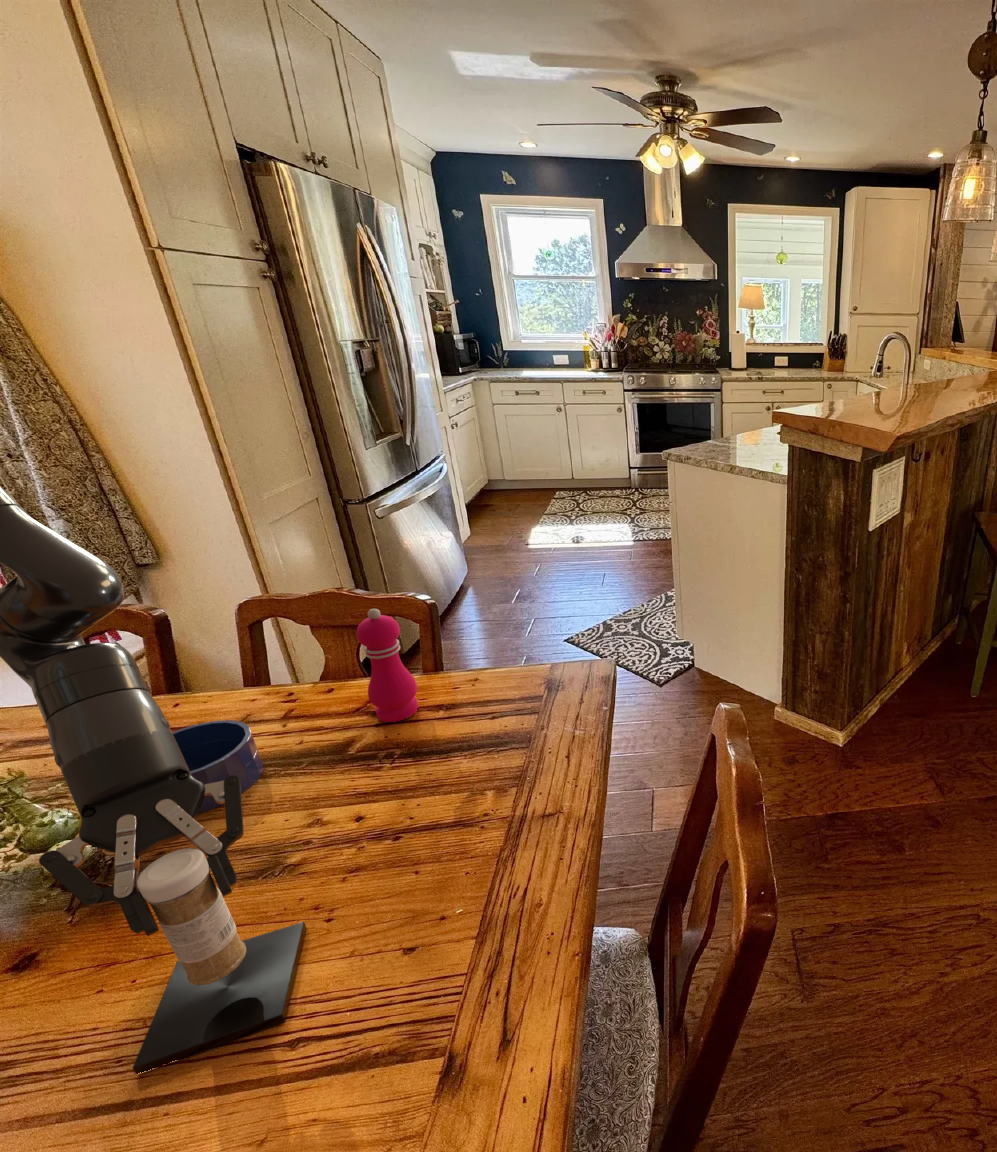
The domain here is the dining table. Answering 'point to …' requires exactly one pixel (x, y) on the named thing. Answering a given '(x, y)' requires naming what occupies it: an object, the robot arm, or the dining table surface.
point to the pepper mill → (387, 669)
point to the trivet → (225, 1001)
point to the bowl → (220, 754)
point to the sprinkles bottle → (193, 915)
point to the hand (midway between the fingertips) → (190, 912)
